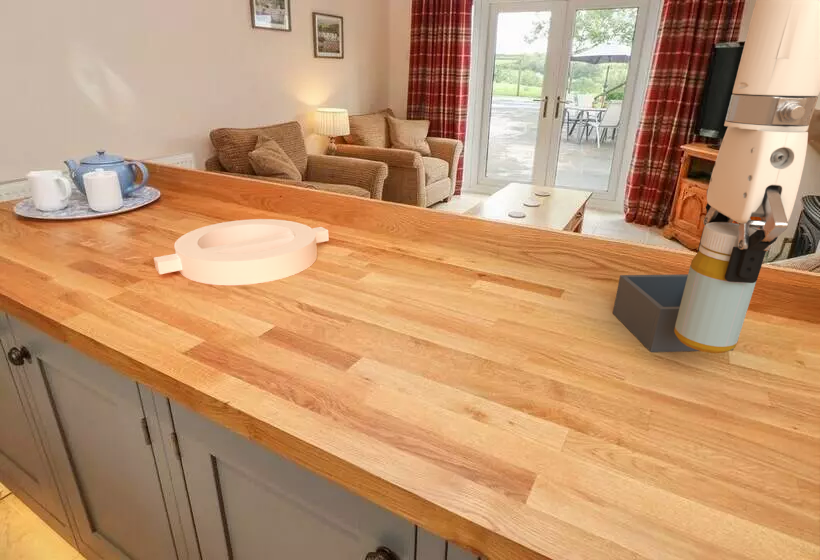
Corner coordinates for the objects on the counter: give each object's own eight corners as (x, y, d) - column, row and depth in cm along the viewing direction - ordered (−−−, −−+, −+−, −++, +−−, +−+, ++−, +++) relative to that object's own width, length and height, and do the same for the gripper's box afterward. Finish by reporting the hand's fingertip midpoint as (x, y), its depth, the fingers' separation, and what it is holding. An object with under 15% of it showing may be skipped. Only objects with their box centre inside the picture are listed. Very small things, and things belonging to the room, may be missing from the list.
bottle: (702, 358, 59) (736, 240, 53) (661, 331, 65) (687, 223, 59) (748, 351, 61) (786, 236, 55) (703, 325, 67) (733, 219, 61)
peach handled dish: (332, 241, 115) (331, 222, 113) (289, 290, 90) (287, 265, 88) (220, 235, 119) (217, 216, 117) (148, 280, 93) (143, 256, 91)
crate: (684, 311, 84) (694, 274, 81) (733, 350, 72) (746, 307, 69) (612, 313, 83) (619, 274, 80) (650, 352, 71) (660, 309, 69)
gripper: (865, 122, 44) (800, 301, 51) (762, 109, 60) (724, 247, 67) (775, 120, 45) (723, 296, 52) (697, 107, 61) (666, 244, 68)
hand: (724, 267), depth 59 cm, fingers closed on bottle, 7 cm apart
